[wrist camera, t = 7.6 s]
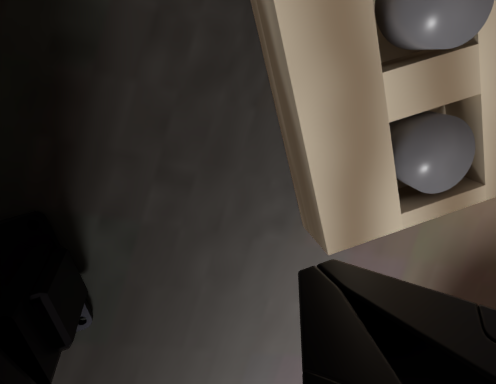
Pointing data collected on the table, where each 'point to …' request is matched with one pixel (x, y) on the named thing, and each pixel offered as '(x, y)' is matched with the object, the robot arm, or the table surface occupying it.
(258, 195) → the table surface
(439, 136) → the button
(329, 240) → the button board
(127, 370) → the table surface
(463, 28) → the button middle
